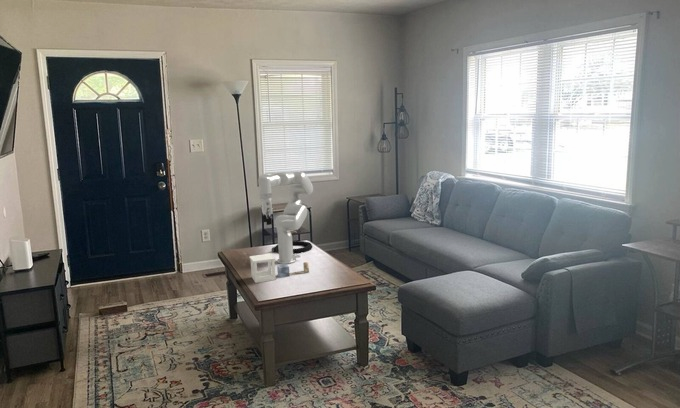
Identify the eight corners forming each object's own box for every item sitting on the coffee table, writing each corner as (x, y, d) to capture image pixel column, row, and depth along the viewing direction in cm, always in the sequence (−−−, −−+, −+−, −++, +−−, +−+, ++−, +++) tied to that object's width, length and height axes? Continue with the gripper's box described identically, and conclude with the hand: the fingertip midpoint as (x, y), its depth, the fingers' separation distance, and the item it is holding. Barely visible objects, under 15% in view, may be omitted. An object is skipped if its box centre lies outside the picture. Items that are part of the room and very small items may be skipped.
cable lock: (317, 246, 374) (277, 251, 363) (318, 251, 375) (277, 257, 363) (304, 238, 399) (266, 243, 388) (305, 243, 400) (267, 248, 389)
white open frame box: (271, 274, 323) (270, 253, 321) (276, 279, 311) (275, 258, 309) (250, 277, 318) (249, 256, 316) (254, 283, 306) (253, 261, 304)
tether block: (307, 270, 327) (307, 261, 326) (310, 273, 321) (309, 263, 320) (277, 275, 321) (277, 265, 320) (280, 277, 315) (279, 268, 314)
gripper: (274, 197, 317) (276, 225, 320) (268, 193, 334) (270, 220, 336) (262, 198, 315) (264, 226, 318) (256, 195, 331) (258, 221, 334)
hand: (267, 223), depth 327 cm, fingers open, 9 cm apart
